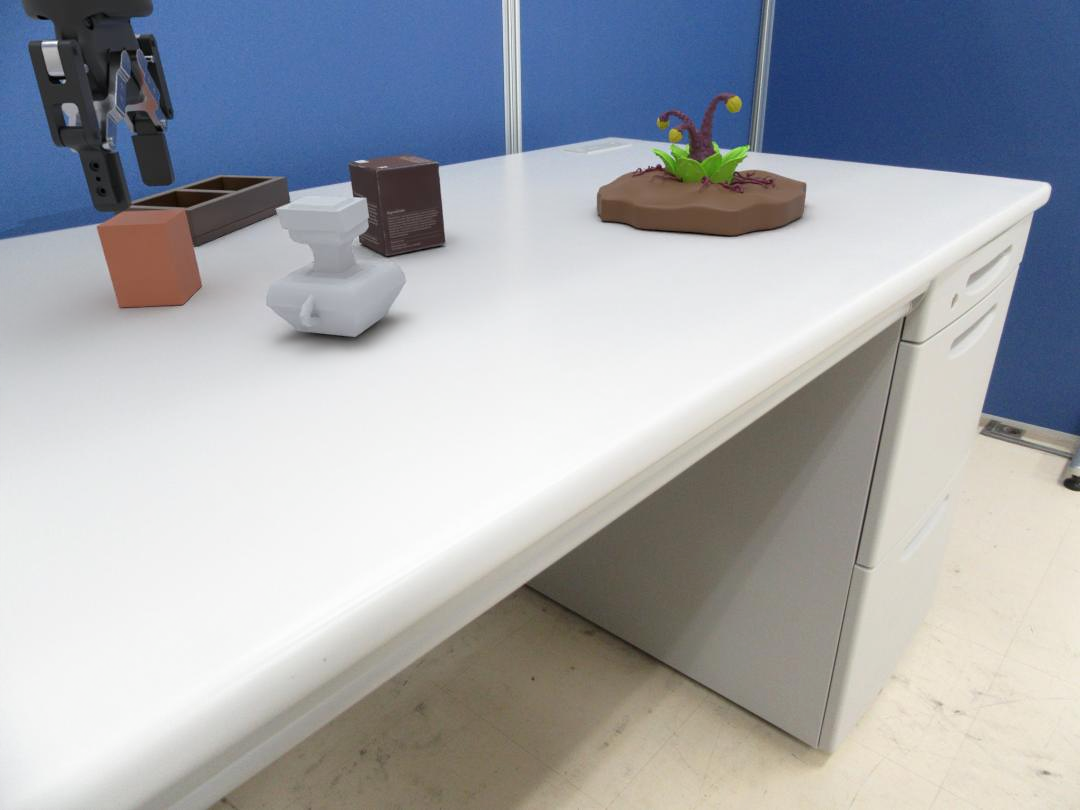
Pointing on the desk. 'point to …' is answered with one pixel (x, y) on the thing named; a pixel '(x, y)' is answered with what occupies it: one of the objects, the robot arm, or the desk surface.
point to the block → (150, 257)
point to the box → (400, 202)
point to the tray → (220, 203)
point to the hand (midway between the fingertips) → (138, 197)
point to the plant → (701, 187)
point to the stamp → (332, 270)
